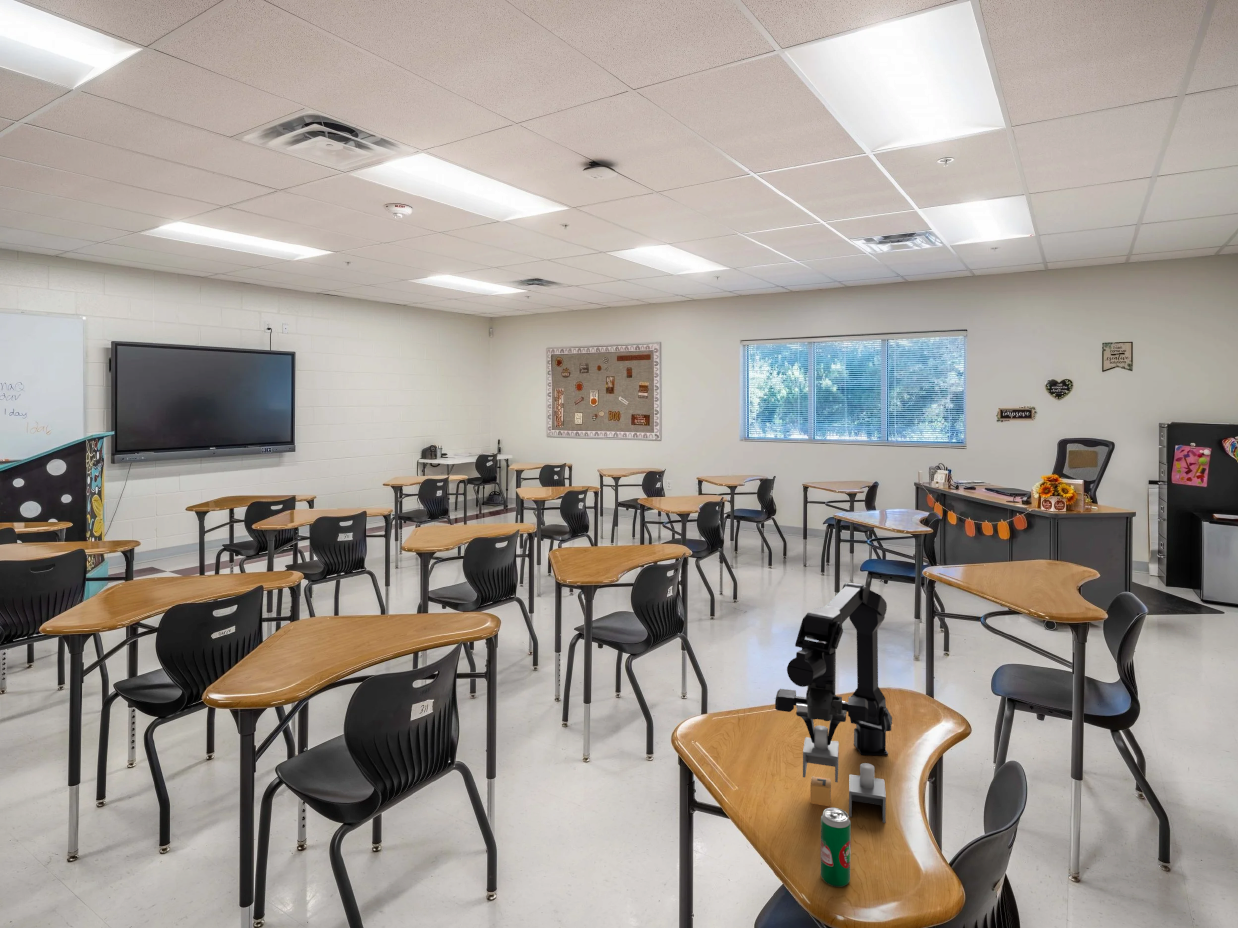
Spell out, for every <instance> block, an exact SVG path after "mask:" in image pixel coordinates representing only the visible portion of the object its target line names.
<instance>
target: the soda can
mask: <svg viewBox="0 0 1238 928" xmlns="http://www.w3.org/2000/svg"><path fill="white" fill-rule="evenodd" d="M851 823H852V821H851V819H850V817H849V813H847V812H846V811H845V810H843V809H841V808H838V807H827V808H825V809H824V810H823V811H822V815H821V816H820V877H821V878H822V880H823V881H824V882H825V884H826V885H827V884H828V886H831V887H834V888H844V887H845V886H846V885H848V884H849V883H850V881H851V856H852V855H851V843H852V841H851V840H852V839H851V837H852V835H851V834H852V831H851V830H852V825H851Z"/></svg>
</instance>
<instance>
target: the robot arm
mask: <svg viewBox="0 0 1238 928" xmlns="http://www.w3.org/2000/svg"><path fill="white" fill-rule="evenodd" d="M887 607H888V604H887V602H886V600H885V599H884V597H883V596H882V595H881V594H879V593H878V592H877V593H876V592H874V590H871V589H870V588H869V587H868V586H867V585H866V586H865V584H860V583H859V584H858V583H855V582H853V583H852V582H847V583H844V584H843V586H842V589H841V590H840V591H839V592H838V593H837V594H836V595H835V596H834V597H833V598H832V599H830V601H829V602H828V603H827V604H826V605H825V606H822V607H815V608H813V609H811V610H810V611H808V612H807V613H806V614H805V616H803V618H802V621H801V623H800V627H799V631H798V634H797V638H796V642H795V643H794V646H795V647H797V648H801V650H798V651H796V654H795V655H796V656H795V657H794V658H793V659H791V660H790V661H789V662H788V665H787V667H786V671H787V676H788V677H789V680H790V681H791V682H792V683H793V684H794V685H796V686H798V687H801V688H804V687H806V688H807V690H806V692H805V693H806V696H797V691H796V690H795V689H788V688H787V689H785V688H779V689H778V690H777V692H776V695H775V701H774V702H775V703H774V704H775V710H776V711H779V712H787V713H790V712H792V711H793V710H794V709H795V708H796V713H795V714H796V716H797V717H800V718H802V720H803V721H804V724H805V725H806V728H807V731H808V734H809V738H811V740H812V743H814V727H815V724H814V720H819V721H824V722H829V727H828V745H830V743H831V741H833V740H832V739H833V737H834V735H835V732H836V729H837V728H838V726H839V724H840V723H846V721H847V716H848V718H849V721H850V724H852V725H853V724H854V725H856V726H855V728H854V729H853V744H854V746H855V748H856V749H857V750H858V752H859V754H861V755H862V756H889V752H888V750H887V748H886V747H887V745H886V744H887V743H886V741H887V732H891V731H892V724H893V717H892V715H891V713H890V711H889V709H888V707H887V703H886V696H885V695H884V693H883V692H882V691H881V689H880V687H879V661H878V660H879V658H878V653H879V652H878V651H879V650H878V649H879V647H878V646H879V644H878V641H879V640H878V639H879V638H878V632H879V631H878V629H879V627H880V626H881V625H882V623H883V622H884V621H885V618H886V616H885V615H886V614H887V610H888V609H887ZM848 618H849V620H850V622H851V624H852V625H853V628H854V629H855V630H856V670H857V671H856V673H857V676H856V679H857V681H856V682H857V686H856V687H857V688H855V690H854V692H853V693H852V694H851V695H850V696H848V698H847V701H844V700H843V696H838V695H836V682H837V681H836V677H837V676H836V673H837V671H836V669H837V668H836V665H837V662H836V660H837V654H836V653H837V652H836V651H837V650H838V647H839V644H840V641H841V638H842V635H843V633H844V630H843V624H844V622H845V621H846V620H847V619H848Z"/></svg>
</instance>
